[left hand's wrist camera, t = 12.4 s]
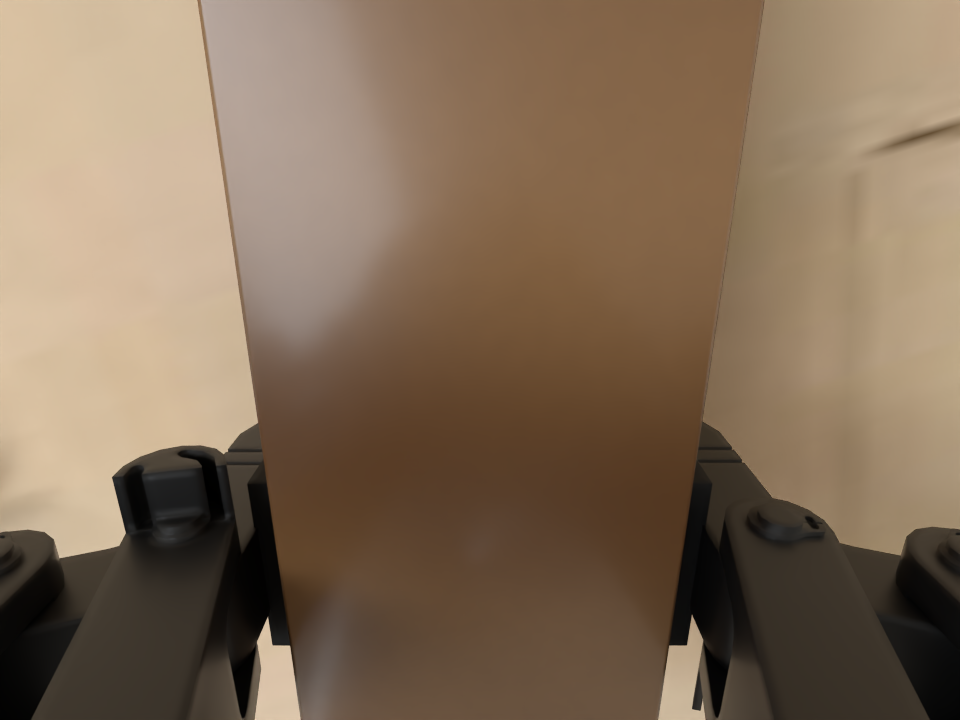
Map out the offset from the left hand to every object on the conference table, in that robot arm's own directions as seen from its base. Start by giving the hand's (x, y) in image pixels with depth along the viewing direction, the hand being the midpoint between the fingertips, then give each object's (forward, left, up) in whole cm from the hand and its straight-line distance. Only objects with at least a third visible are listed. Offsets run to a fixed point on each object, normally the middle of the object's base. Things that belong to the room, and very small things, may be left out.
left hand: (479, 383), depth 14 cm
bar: (+20, +9, -1) cm, 21 cm away
